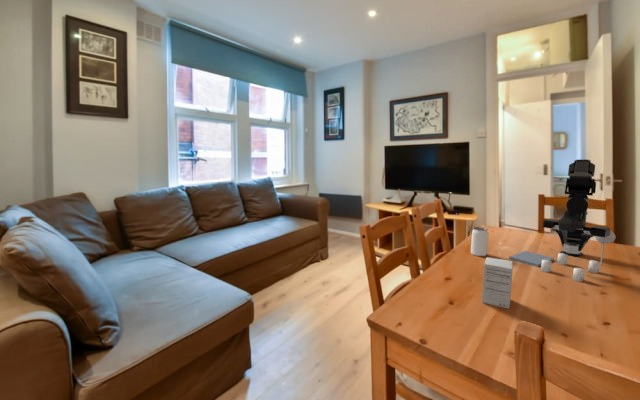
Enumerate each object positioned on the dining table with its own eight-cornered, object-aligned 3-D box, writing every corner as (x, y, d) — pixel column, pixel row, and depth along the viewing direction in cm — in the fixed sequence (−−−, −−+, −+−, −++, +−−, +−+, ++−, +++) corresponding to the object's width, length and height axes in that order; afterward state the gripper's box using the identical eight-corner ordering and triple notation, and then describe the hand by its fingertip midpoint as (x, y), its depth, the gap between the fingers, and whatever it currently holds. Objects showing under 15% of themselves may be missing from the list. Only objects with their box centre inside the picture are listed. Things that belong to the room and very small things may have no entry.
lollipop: (607, 263, 119) (612, 228, 117) (614, 268, 114) (619, 231, 112) (588, 261, 122) (592, 226, 120) (593, 266, 117) (598, 230, 114)
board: (525, 253, 133) (525, 250, 133) (553, 260, 124) (554, 257, 124) (508, 258, 127) (509, 256, 126) (537, 266, 117) (538, 264, 117)
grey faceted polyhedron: (567, 249, 114) (568, 241, 114) (581, 252, 110) (582, 244, 110) (561, 251, 112) (562, 244, 111) (576, 254, 108) (577, 247, 107)
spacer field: (559, 261, 122) (560, 252, 122) (600, 272, 111) (601, 262, 110) (539, 270, 114) (540, 260, 113) (581, 282, 103) (582, 271, 102)
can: (489, 257, 129) (490, 230, 127) (473, 256, 131) (474, 230, 129) (483, 252, 136) (485, 227, 134) (468, 251, 137) (470, 226, 135)
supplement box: (483, 293, 96) (486, 256, 94) (510, 299, 92) (513, 260, 90) (480, 302, 90) (483, 263, 88) (509, 309, 86) (513, 268, 84)
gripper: (537, 207, 113) (533, 246, 115) (601, 215, 97) (595, 260, 99) (550, 204, 118) (547, 242, 120) (613, 212, 102) (607, 254, 105)
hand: (571, 249), depth 111 cm, fingers closed on grey faceted polyhedron, 4 cm apart
